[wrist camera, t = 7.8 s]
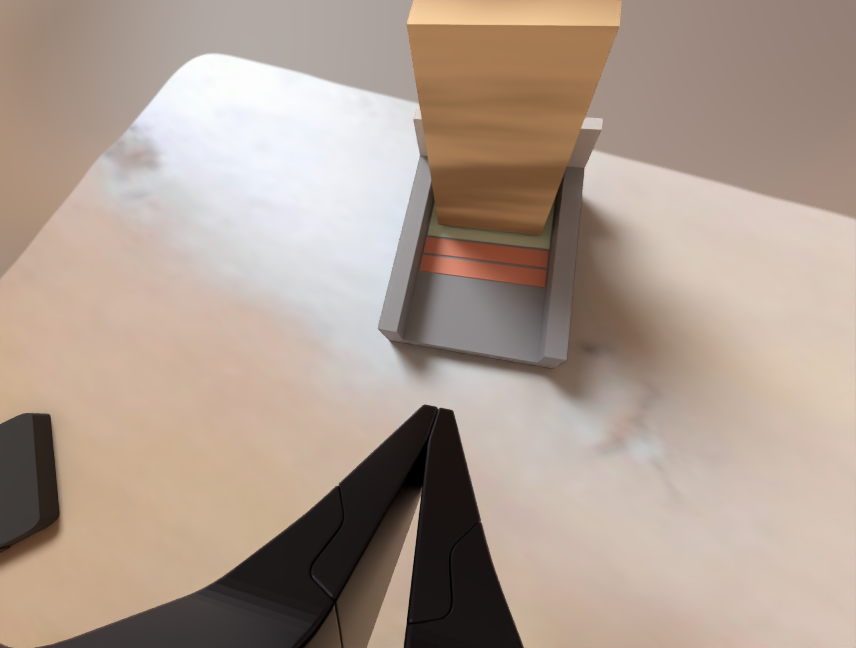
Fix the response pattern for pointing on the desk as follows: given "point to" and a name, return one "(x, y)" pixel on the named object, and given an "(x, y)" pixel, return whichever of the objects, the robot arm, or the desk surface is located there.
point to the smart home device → (26, 478)
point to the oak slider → (505, 101)
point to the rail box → (487, 274)
